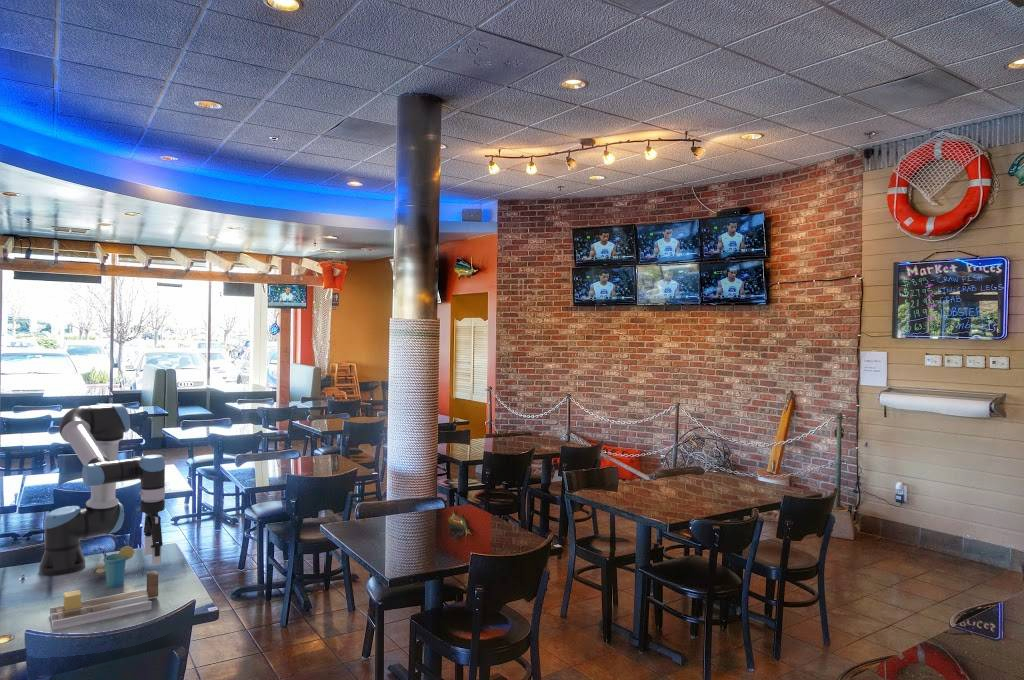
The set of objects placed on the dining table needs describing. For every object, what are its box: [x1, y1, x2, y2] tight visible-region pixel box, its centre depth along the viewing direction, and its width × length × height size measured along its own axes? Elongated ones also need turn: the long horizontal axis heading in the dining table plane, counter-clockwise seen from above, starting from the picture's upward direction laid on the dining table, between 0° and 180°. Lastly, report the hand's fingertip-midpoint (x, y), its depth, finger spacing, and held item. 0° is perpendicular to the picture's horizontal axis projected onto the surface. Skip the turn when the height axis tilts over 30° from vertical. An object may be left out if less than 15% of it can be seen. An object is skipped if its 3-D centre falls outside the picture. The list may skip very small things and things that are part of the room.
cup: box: [90, 545, 135, 589], centre depth 257 cm, size 14×8×15 cm, turn 129°
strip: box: [56, 570, 159, 613], centre depth 238 cm, size 4×30×8 cm, turn 127°
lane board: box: [49, 588, 152, 631], centre depth 234 cm, size 13×28×3 cm, turn 127°
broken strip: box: [57, 604, 110, 620], centre depth 229 cm, size 4×14×2 cm, turn 127°
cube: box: [63, 589, 82, 611], centre depth 232 cm, size 4×4×4 cm
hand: (152, 559), depth 246 cm, fingers open, 13 cm apart
